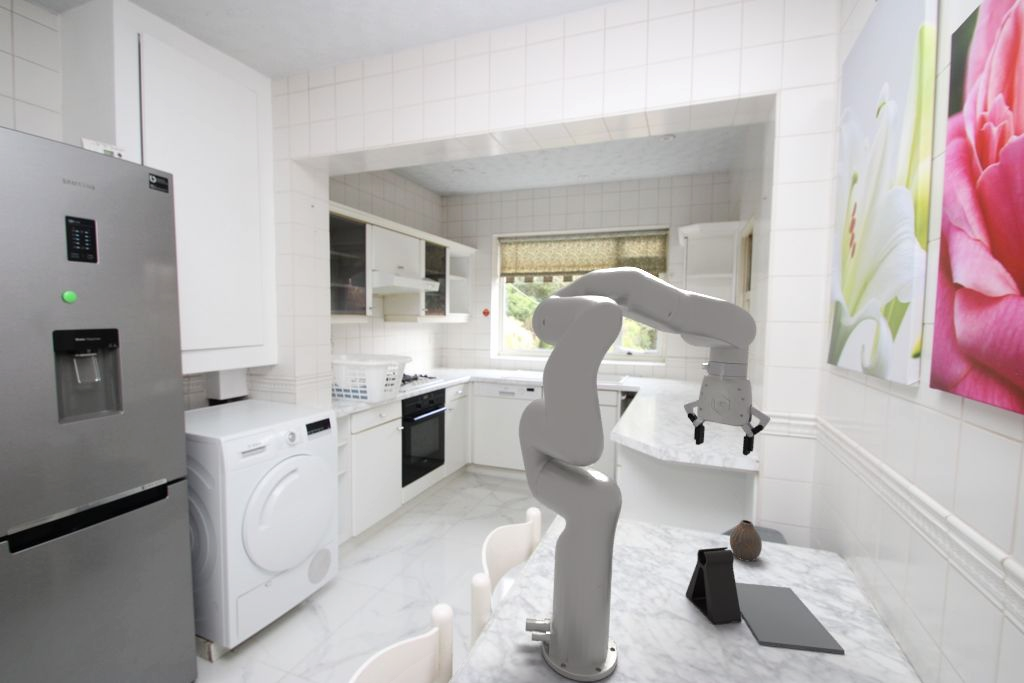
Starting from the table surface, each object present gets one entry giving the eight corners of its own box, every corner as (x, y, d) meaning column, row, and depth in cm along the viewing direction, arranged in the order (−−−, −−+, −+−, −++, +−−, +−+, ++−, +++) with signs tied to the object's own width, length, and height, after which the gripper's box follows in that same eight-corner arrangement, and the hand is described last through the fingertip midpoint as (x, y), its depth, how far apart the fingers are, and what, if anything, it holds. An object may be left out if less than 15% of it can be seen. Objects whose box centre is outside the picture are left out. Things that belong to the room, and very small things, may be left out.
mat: (759, 644, 77) (759, 641, 77) (721, 583, 95) (721, 581, 95) (844, 653, 76) (844, 650, 76) (789, 590, 93) (789, 587, 93)
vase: (765, 566, 103) (767, 530, 102) (733, 562, 104) (735, 526, 104) (755, 551, 110) (757, 517, 109) (725, 547, 111) (727, 514, 110)
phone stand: (741, 622, 83) (745, 560, 82) (713, 625, 82) (717, 563, 81) (710, 593, 92) (714, 537, 91) (685, 595, 90) (688, 539, 90)
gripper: (680, 367, 97) (676, 443, 98) (768, 376, 86) (762, 462, 86) (693, 366, 103) (688, 437, 104) (777, 374, 91) (771, 455, 92)
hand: (722, 448), depth 95 cm, fingers open, 9 cm apart
